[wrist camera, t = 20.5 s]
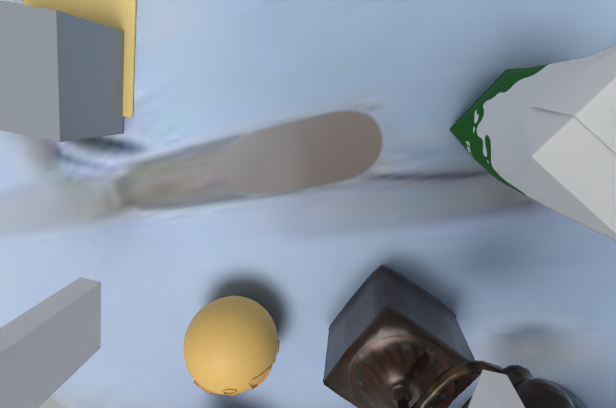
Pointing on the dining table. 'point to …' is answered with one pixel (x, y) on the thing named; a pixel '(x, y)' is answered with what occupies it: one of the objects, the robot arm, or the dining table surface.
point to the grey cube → (59, 74)
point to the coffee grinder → (411, 352)
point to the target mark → (113, 13)
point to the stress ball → (230, 345)
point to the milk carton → (552, 136)
